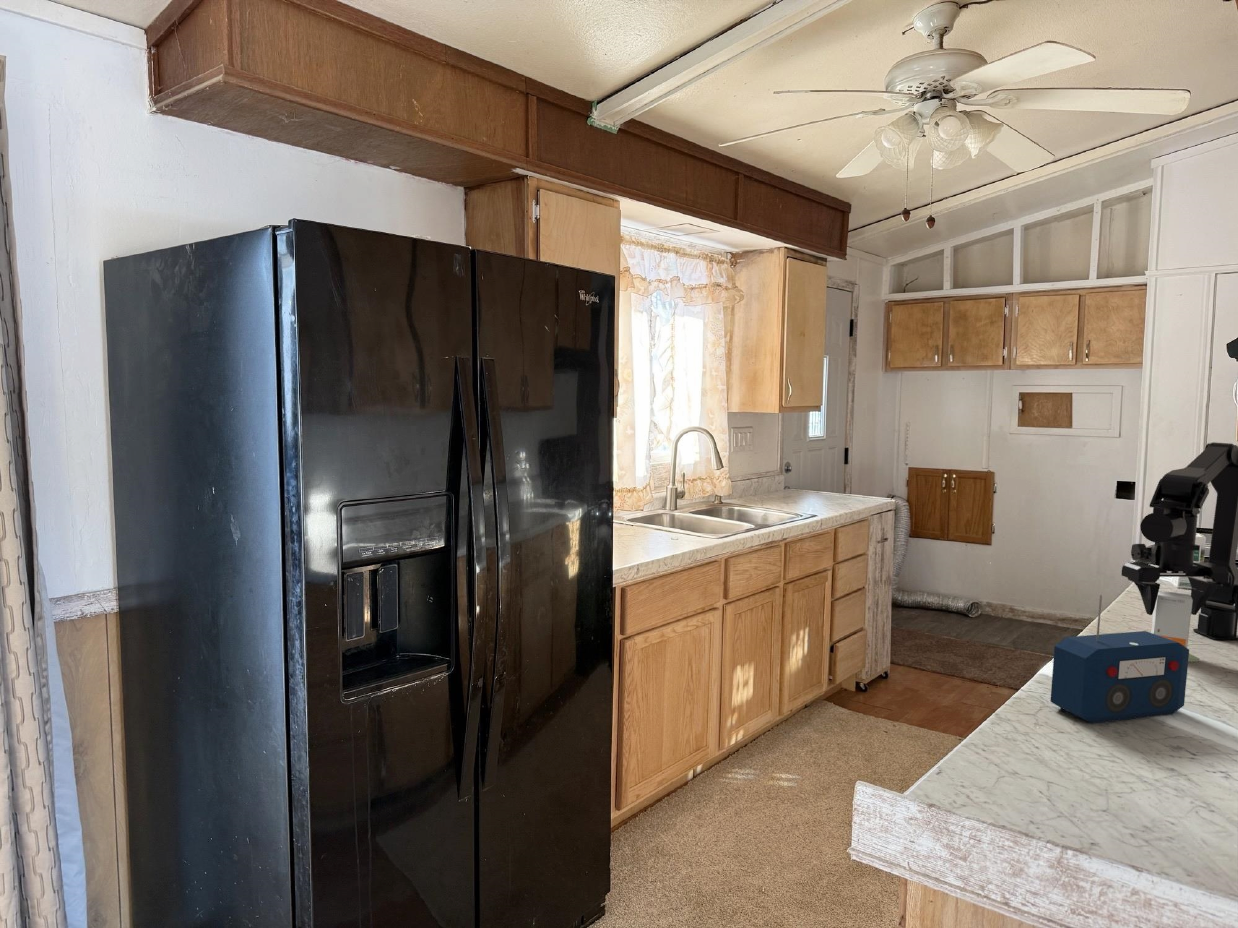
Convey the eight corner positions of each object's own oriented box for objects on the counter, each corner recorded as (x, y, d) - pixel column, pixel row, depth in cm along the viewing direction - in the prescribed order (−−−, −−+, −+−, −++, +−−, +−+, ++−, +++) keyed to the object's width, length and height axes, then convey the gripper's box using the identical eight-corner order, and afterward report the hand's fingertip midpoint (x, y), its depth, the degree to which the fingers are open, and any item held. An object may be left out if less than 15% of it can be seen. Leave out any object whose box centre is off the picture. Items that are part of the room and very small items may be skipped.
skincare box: (1151, 652, 170) (1156, 594, 169) (1149, 647, 174) (1154, 589, 173) (1187, 658, 168) (1193, 598, 166) (1184, 652, 171) (1190, 594, 170)
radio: (1087, 728, 134) (1097, 604, 132) (1045, 707, 143) (1054, 590, 141) (1191, 716, 140) (1202, 597, 138) (1145, 696, 148) (1155, 584, 146)
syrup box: (1177, 588, 228) (1182, 534, 226) (1170, 583, 233) (1174, 531, 232) (1201, 590, 226) (1206, 536, 225) (1193, 585, 232) (1198, 532, 230)
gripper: (1192, 530, 177) (1185, 603, 179) (1106, 529, 176) (1100, 603, 177) (1234, 540, 166) (1227, 618, 168) (1143, 540, 165) (1137, 618, 166)
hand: (1171, 614), depth 170 cm, fingers open, 9 cm apart
